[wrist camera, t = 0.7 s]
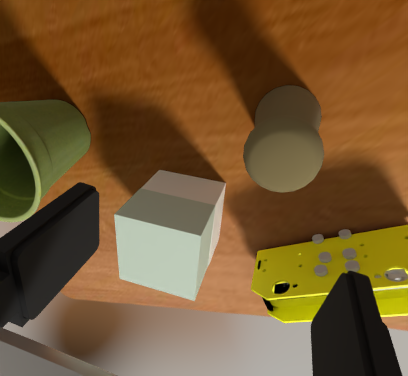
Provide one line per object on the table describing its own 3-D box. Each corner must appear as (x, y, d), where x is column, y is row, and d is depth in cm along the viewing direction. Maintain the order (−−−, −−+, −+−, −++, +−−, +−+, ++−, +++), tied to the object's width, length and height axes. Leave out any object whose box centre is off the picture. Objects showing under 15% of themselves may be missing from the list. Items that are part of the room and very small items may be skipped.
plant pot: (111, 183, 37) (47, 237, 28) (32, 161, 39) (-54, 203, 30) (109, 88, 31) (25, 114, 22) (15, 67, 33) (-100, 83, 24)
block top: (215, 205, 28) (200, 236, 24) (208, 265, 32) (194, 300, 28) (140, 188, 30) (114, 214, 26) (142, 247, 34) (119, 278, 30)
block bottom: (226, 182, 33) (215, 205, 28) (219, 238, 37) (208, 265, 32) (159, 169, 34) (140, 188, 30) (159, 223, 38) (142, 248, 34)
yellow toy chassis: (411, 214, 29) (448, 275, 22) (421, 259, 30) (458, 328, 23) (257, 243, 35) (246, 296, 28) (272, 278, 37) (266, 336, 30)
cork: (247, 140, 29) (224, 191, 20) (264, 78, 26) (245, 105, 17) (307, 156, 29) (312, 217, 19) (332, 93, 25) (351, 131, 16)
